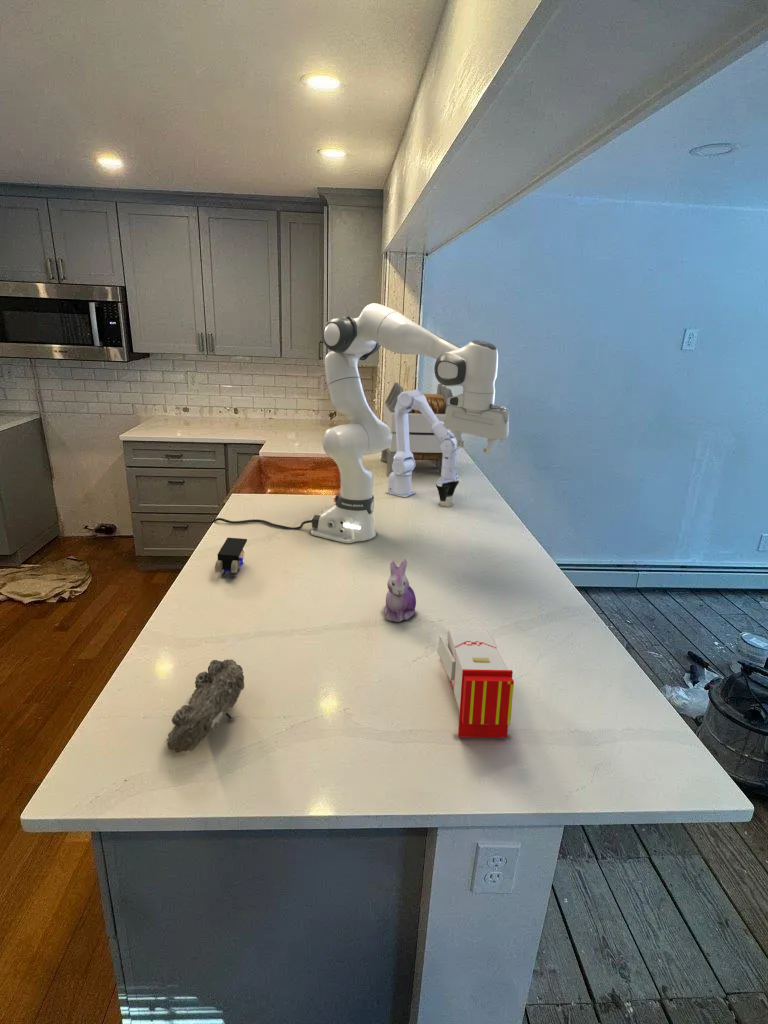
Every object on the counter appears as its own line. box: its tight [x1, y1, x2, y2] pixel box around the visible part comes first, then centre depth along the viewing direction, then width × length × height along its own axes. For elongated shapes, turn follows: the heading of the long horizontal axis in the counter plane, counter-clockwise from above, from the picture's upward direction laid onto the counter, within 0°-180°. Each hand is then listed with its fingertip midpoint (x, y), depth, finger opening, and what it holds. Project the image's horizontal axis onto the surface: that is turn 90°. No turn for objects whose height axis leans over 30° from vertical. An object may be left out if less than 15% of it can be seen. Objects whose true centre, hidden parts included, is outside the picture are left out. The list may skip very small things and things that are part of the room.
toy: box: [437, 628, 515, 738], centre depth 117 cm, size 12×13×30 cm
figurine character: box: [214, 537, 248, 578], centre depth 166 cm, size 7×8×15 cm
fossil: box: [166, 658, 245, 754], centre depth 106 cm, size 22×10×15 cm
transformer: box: [381, 382, 454, 477], centre depth 277 cm, size 34×33×41 cm
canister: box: [439, 493, 454, 508], centre depth 232 cm, size 5×5×4 cm
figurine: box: [384, 558, 417, 623], centre depth 145 cm, size 9×10×15 cm
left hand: (473, 450), depth 163 cm, fingers open, 8 cm apart
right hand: (446, 499), depth 232 cm, fingers open, 5 cm apart
